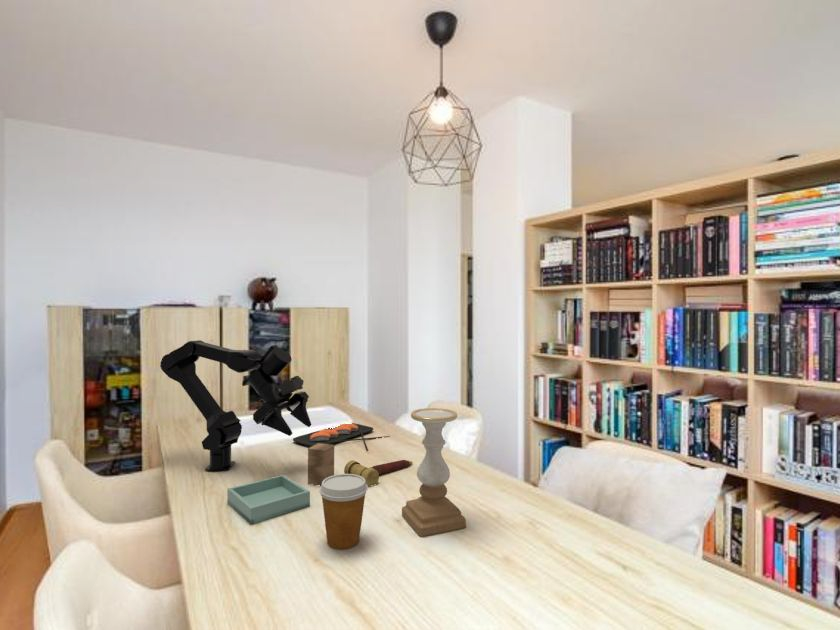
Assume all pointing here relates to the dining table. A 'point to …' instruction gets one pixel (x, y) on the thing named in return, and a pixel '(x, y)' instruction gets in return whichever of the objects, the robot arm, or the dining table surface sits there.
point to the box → (267, 498)
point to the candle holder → (433, 480)
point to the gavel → (374, 470)
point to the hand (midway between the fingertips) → (301, 430)
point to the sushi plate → (335, 435)
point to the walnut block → (320, 463)
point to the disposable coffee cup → (343, 509)
